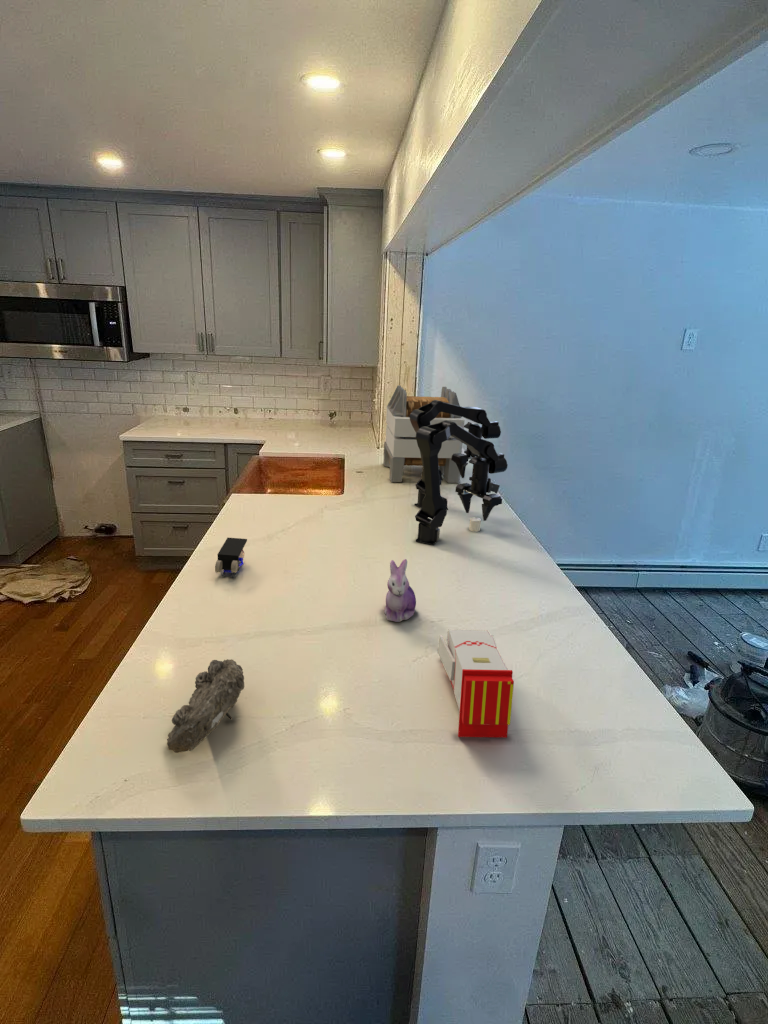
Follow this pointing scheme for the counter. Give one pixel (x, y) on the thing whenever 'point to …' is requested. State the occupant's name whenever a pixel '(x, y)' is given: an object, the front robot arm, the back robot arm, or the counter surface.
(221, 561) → the black toy vehicle
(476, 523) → the can
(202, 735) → the fossil
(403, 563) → the figurine
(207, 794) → the counter surface
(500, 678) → the toy
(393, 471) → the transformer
